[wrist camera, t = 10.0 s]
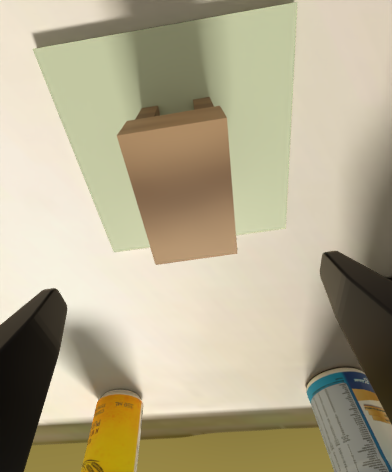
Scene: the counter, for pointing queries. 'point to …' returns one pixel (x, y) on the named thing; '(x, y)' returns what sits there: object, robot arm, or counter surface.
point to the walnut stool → (182, 181)
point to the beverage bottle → (351, 421)
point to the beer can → (114, 433)
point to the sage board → (182, 106)
